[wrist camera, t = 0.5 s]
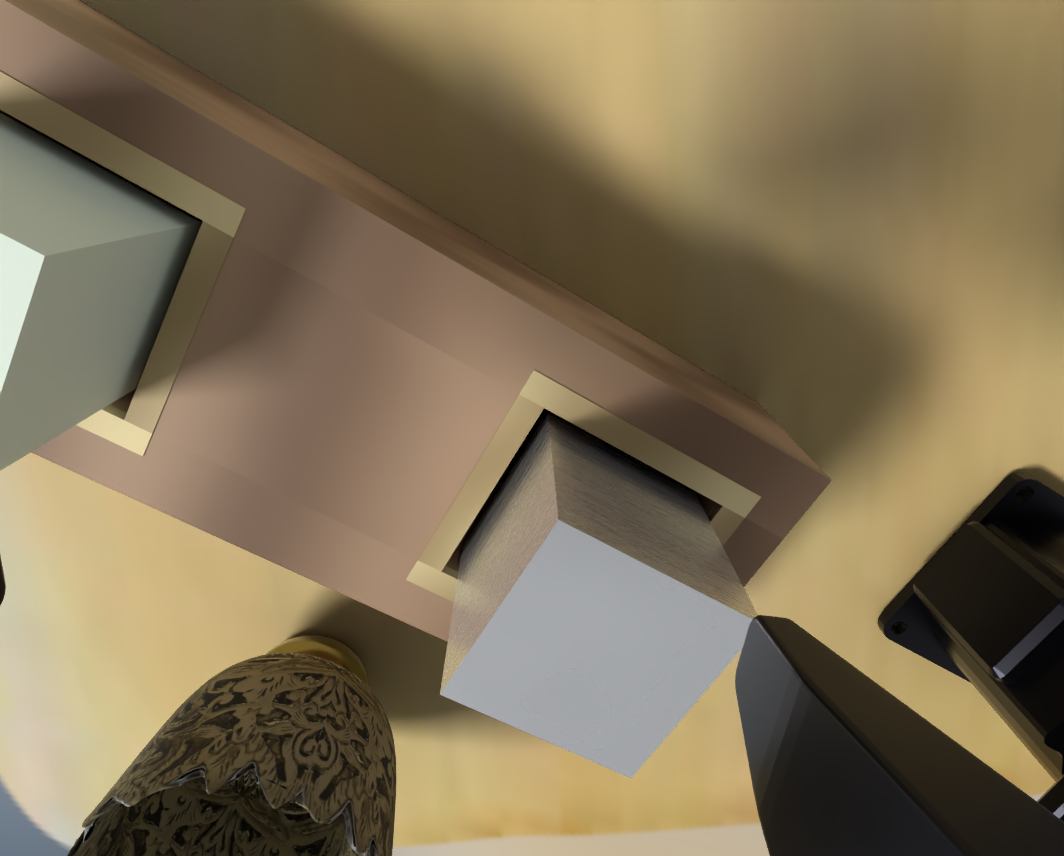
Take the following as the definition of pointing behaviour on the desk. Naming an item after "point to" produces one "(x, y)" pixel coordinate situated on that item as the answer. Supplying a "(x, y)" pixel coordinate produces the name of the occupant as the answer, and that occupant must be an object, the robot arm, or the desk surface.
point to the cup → (261, 766)
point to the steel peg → (592, 602)
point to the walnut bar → (355, 345)
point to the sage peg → (75, 286)
